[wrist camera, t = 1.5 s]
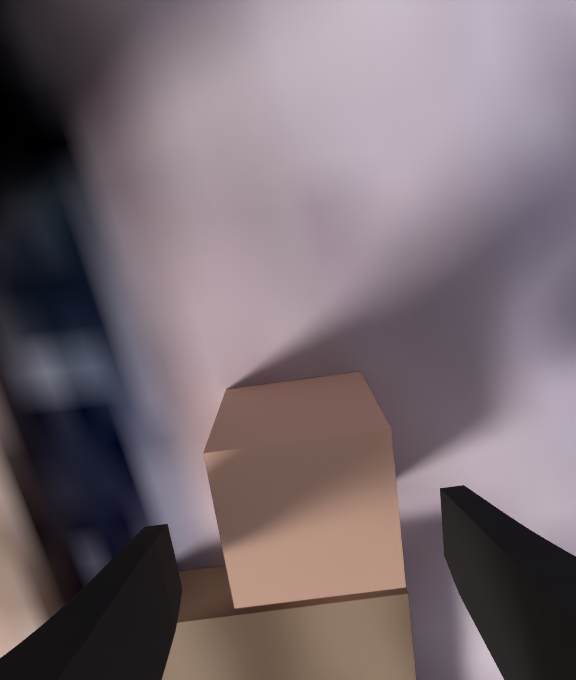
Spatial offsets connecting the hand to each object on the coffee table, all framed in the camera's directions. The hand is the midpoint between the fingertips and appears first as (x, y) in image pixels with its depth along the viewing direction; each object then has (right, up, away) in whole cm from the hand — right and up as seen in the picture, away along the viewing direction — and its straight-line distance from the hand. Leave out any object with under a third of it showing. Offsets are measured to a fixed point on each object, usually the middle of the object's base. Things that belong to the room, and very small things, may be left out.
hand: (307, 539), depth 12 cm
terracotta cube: (0, +1, +6) cm, 6 cm away
